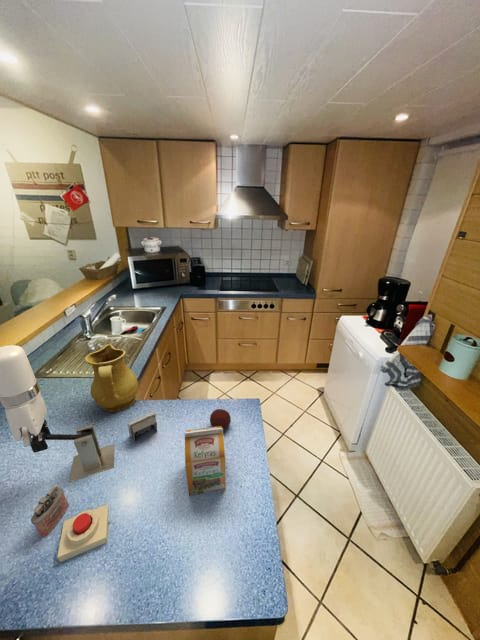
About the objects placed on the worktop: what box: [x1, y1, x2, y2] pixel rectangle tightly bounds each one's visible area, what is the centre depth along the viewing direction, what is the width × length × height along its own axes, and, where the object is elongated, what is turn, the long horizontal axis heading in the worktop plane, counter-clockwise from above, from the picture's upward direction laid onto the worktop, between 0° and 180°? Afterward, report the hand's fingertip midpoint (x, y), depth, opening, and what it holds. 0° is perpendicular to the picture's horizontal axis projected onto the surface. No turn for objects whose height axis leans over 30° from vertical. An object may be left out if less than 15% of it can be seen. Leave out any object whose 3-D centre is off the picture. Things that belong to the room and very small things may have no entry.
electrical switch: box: [127, 411, 158, 442], centre depth 87 cm, size 9×5×9 cm, turn 127°
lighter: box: [30, 485, 70, 538], centre depth 63 cm, size 8×3×10 cm, turn 170°
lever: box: [31, 431, 92, 441], centre depth 72 cm, size 14×3×3 cm, turn 114°
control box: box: [56, 504, 110, 563], centre depth 62 cm, size 10×8×4 cm
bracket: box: [68, 424, 116, 483], centre depth 77 cm, size 12×9×14 cm
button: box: [73, 513, 91, 534], centre depth 61 cm, size 4×4×2 cm
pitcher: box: [84, 343, 139, 413], centre depth 99 cm, size 17×19×25 cm
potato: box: [209, 408, 232, 431], centre depth 92 cm, size 7×8×7 cm
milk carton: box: [184, 426, 227, 497], centre depth 73 cm, size 11×11×19 cm
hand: (42, 443), depth 70 cm, fingers closed on lever, 3 cm apart
